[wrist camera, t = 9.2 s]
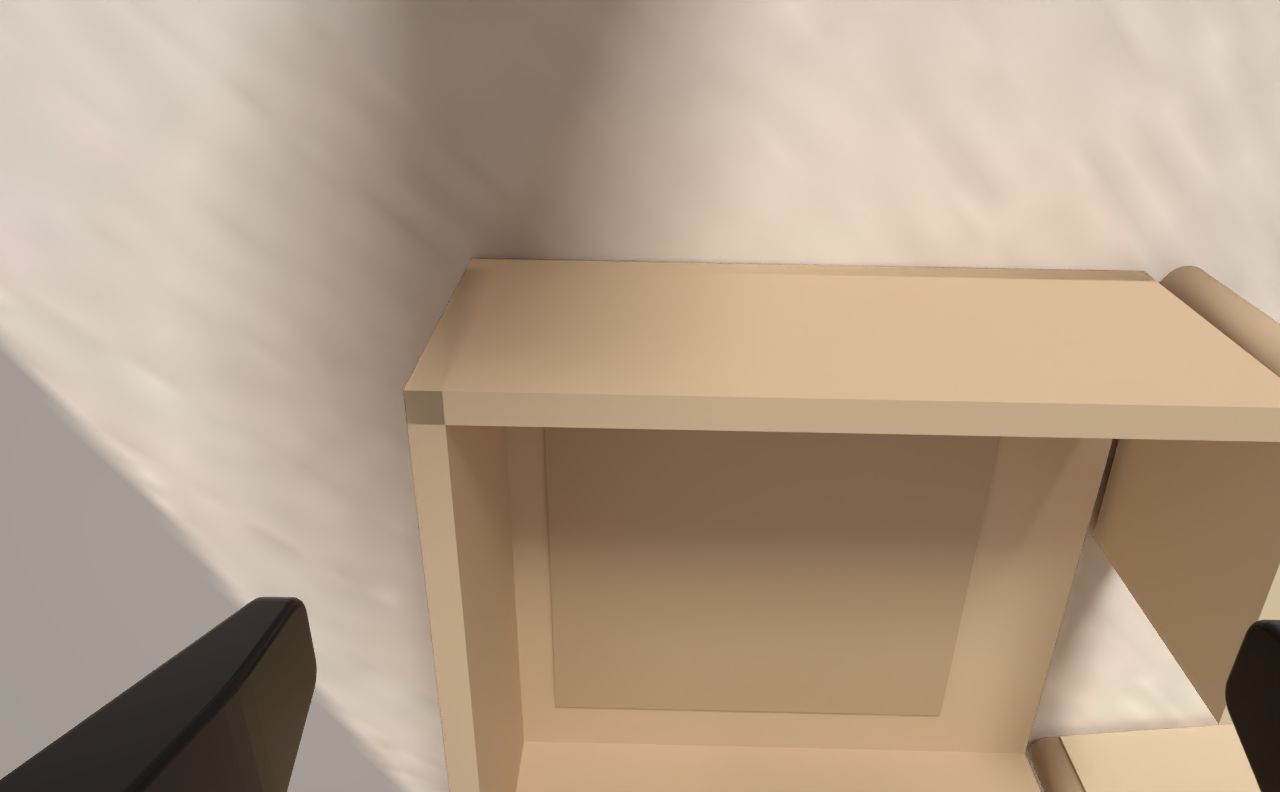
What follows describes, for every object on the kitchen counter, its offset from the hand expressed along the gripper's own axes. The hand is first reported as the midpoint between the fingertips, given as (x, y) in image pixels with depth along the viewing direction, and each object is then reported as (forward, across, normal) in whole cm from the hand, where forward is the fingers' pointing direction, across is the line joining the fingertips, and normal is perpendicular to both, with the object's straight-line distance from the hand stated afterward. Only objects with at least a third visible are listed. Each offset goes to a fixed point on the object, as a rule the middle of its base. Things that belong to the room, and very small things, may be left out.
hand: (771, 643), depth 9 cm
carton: (+12, -2, +8) cm, 14 cm away
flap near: (+12, -10, +4) cm, 16 cm away
